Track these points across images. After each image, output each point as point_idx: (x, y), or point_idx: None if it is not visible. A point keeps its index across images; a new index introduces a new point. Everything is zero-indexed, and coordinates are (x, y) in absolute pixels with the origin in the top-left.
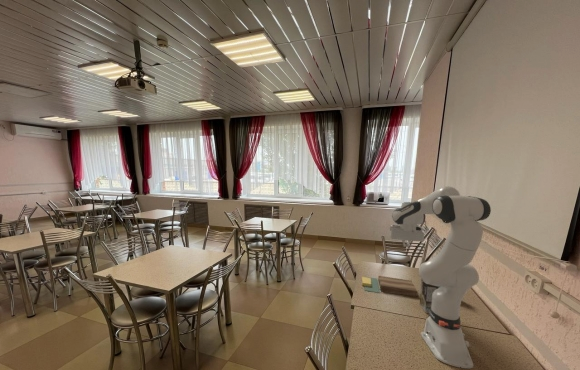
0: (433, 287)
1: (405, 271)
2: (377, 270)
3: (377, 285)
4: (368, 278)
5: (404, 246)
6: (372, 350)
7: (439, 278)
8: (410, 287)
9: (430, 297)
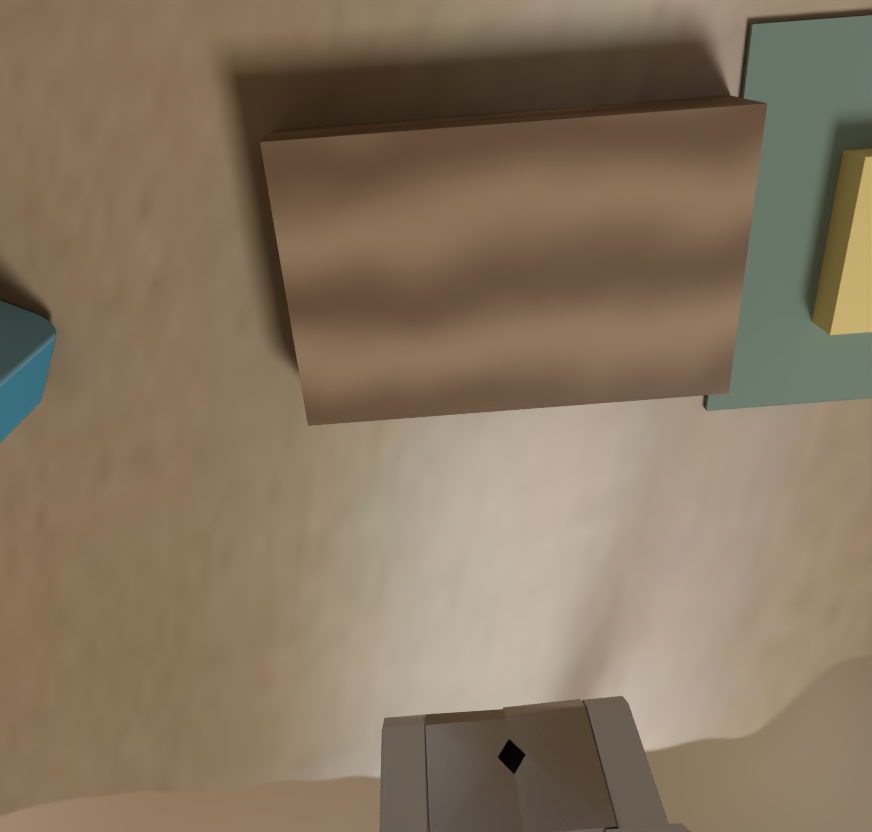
0: None
1: (345, 688)
2: (656, 605)
3: None
4: (862, 311)
5: (600, 698)
6: None
7: None
8: (341, 217)
9: None
